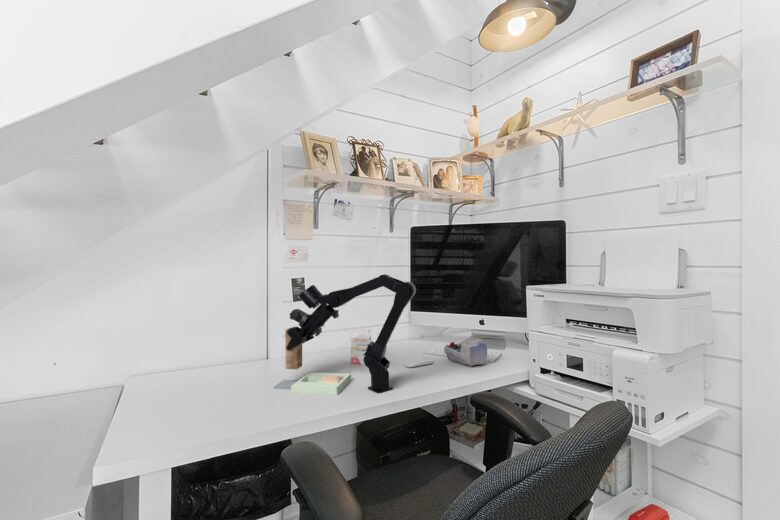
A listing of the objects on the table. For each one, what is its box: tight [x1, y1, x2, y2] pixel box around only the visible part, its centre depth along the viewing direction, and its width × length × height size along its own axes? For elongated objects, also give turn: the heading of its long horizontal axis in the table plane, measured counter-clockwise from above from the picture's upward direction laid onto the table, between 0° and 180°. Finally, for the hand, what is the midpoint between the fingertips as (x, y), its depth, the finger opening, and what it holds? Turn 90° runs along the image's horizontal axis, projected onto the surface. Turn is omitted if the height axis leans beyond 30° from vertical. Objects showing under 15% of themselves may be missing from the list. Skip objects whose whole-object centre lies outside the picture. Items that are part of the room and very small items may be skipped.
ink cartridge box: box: [350, 328, 372, 365], centre depth 166 cm, size 9×5×15 cm, turn 84°
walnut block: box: [284, 327, 303, 370], centre depth 136 cm, size 4×4×14 cm
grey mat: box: [273, 379, 300, 390], centre depth 137 cm, size 8×8×1 cm
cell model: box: [443, 338, 488, 367], centre depth 164 cm, size 13×11×20 cm
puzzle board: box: [290, 372, 352, 396], centre depth 134 cm, size 16×16×4 cm
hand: (290, 347), depth 137 cm, fingers closed on walnut block, 4 cm apart
